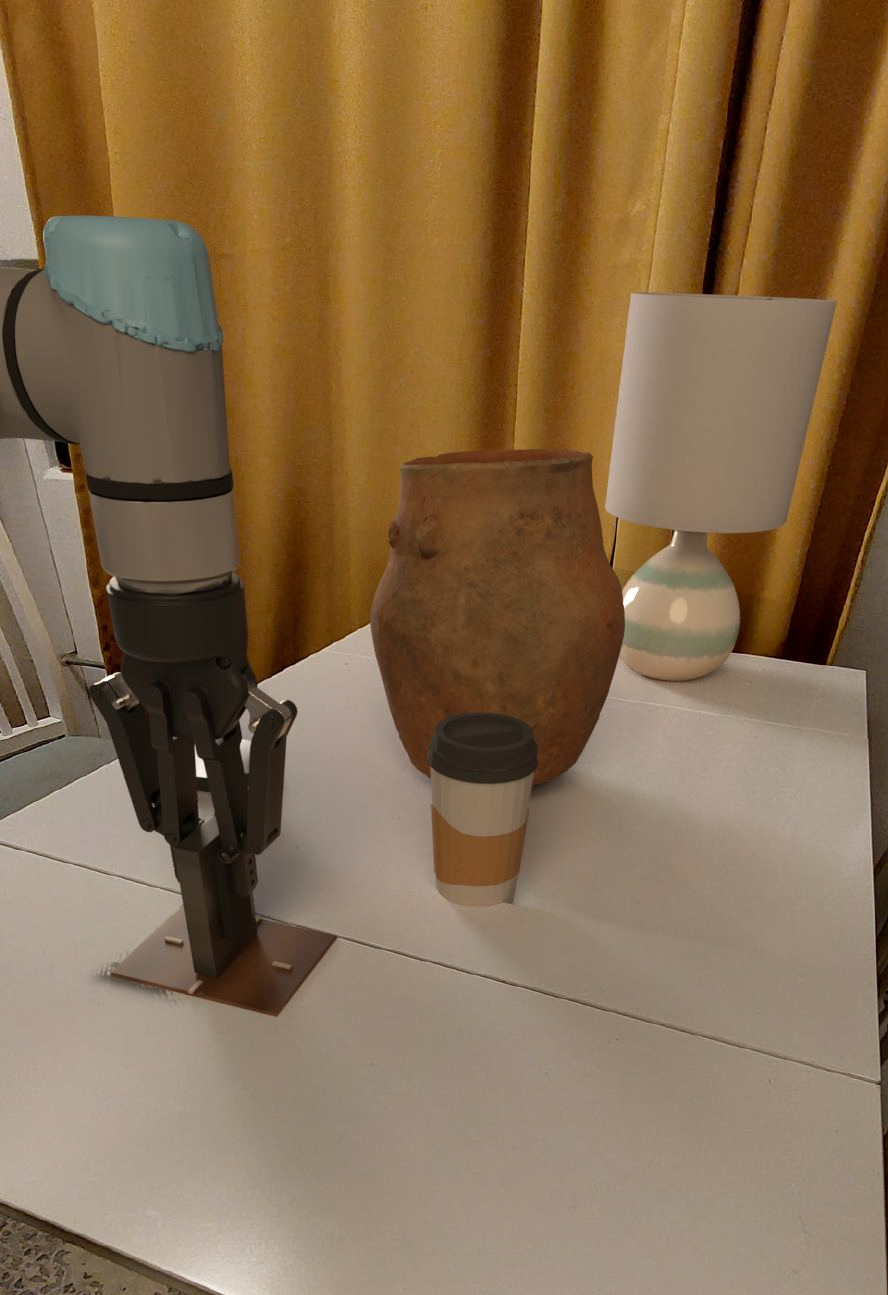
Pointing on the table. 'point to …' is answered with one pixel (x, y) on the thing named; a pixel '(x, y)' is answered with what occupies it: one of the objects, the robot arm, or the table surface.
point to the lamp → (706, 456)
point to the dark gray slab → (206, 902)
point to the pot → (498, 600)
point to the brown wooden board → (230, 965)
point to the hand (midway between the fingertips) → (223, 925)
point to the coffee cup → (480, 805)
